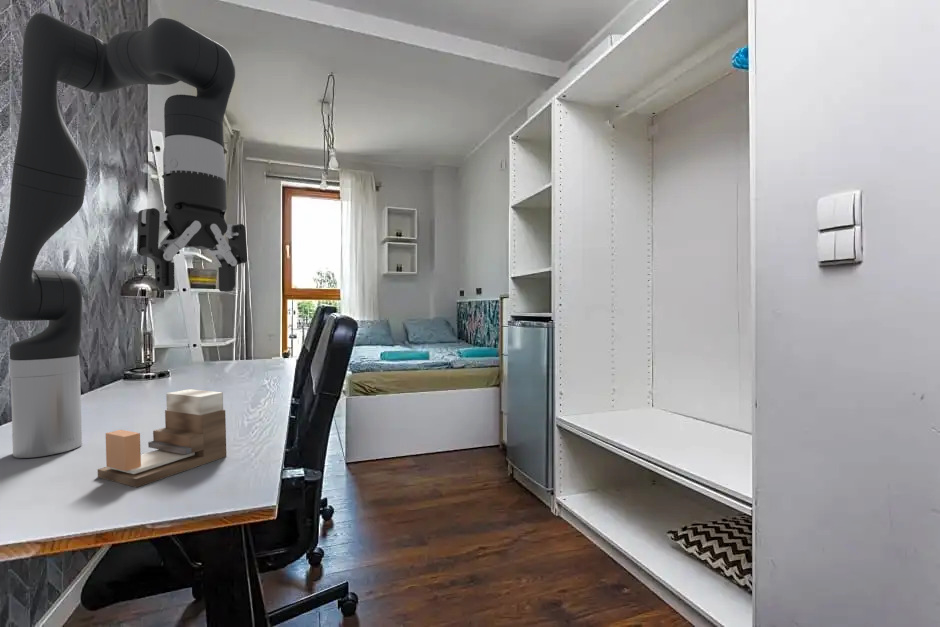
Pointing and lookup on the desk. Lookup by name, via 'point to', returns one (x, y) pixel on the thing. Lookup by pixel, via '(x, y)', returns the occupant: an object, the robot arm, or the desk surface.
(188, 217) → the robot arm
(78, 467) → the desk surface
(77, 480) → the desk surface
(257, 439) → the desk surface
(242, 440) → the desk surface
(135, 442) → the plank with orange cube
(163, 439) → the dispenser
